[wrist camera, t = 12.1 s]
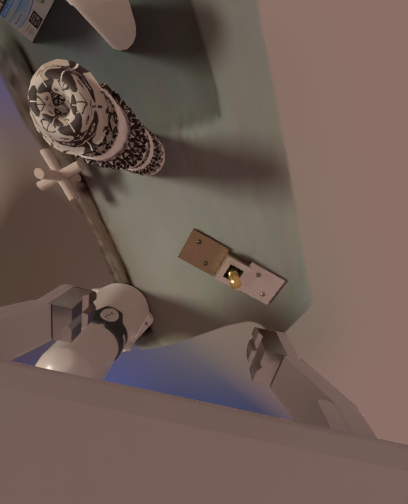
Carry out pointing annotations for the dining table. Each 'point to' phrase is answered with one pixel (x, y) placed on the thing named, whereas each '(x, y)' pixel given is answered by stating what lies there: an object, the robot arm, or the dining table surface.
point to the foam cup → (109, 20)
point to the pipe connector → (58, 174)
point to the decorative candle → (90, 120)
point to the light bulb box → (25, 15)
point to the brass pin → (234, 277)
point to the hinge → (219, 259)
